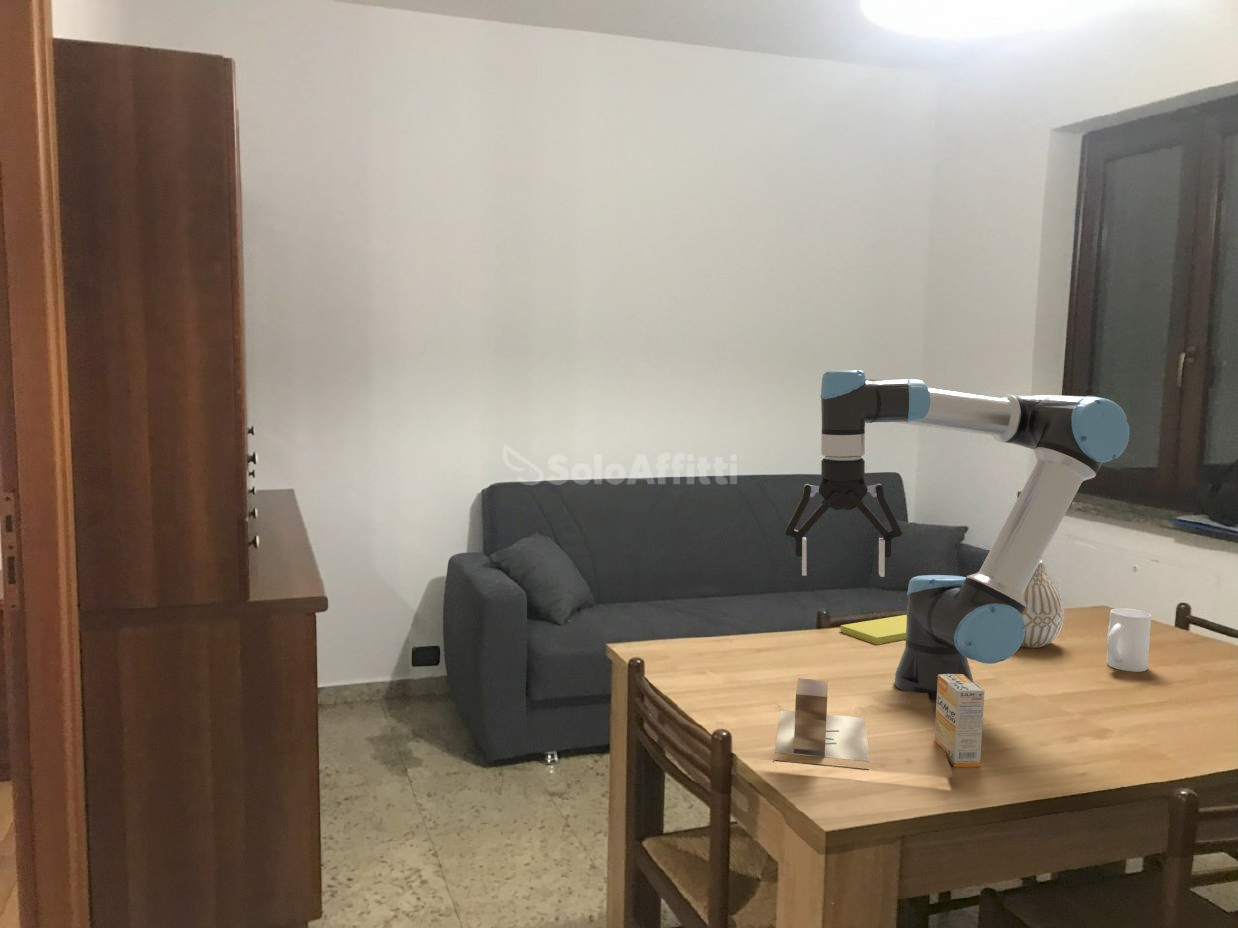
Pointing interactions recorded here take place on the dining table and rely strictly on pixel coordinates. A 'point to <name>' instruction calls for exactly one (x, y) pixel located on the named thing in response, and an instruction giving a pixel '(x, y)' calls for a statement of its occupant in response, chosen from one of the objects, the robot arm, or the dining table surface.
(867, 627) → the yellow rectangular slab
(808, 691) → the block
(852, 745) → the board
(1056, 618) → the vase
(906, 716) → the dining table surface
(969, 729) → the supplement box
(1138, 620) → the mug
